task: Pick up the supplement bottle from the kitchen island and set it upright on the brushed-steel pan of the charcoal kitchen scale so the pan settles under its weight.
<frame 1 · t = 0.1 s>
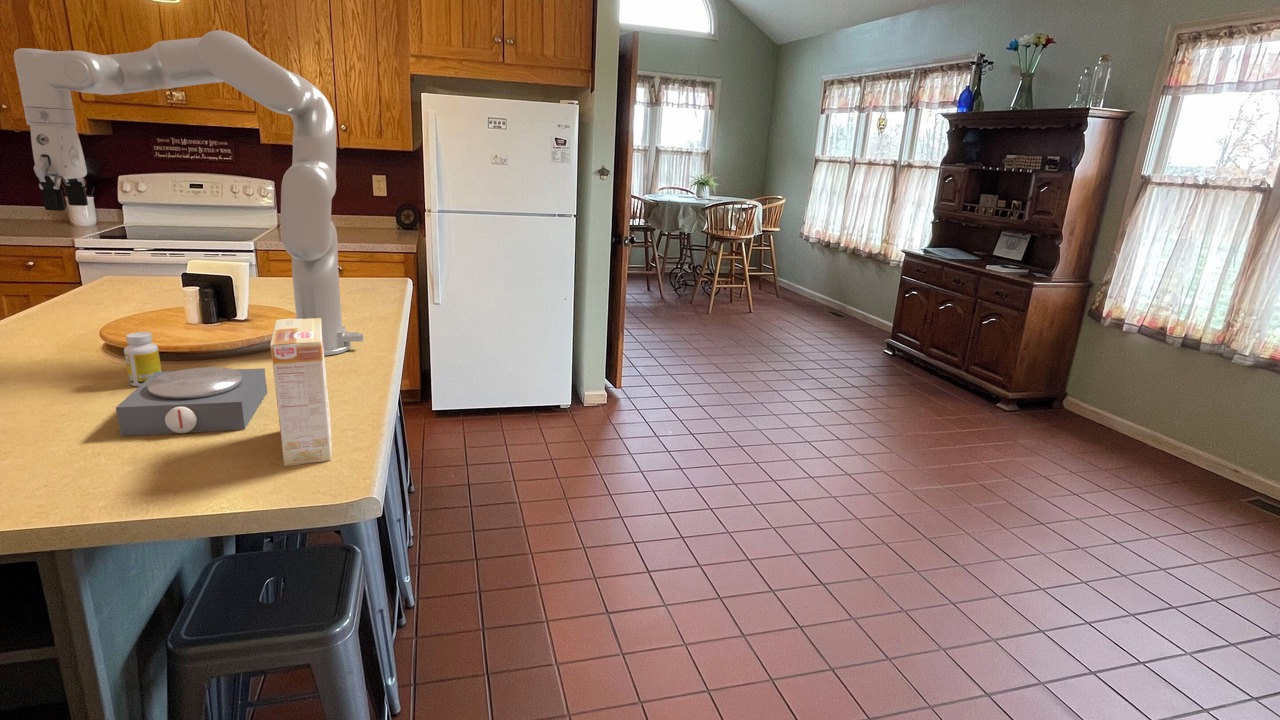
hand: (67, 207, 141), 31 cm above the kitchen island, fingers open, 9 cm apart
coffeecake box: (308, 445, 114), on the kitchen island
scale base: (200, 412, 124), on the kitchen island
scale pan: (196, 382, 122), point 6 cm above the kitchen island, slide at -0.8 cm
supplement bottle: (146, 383, 136), on the kitchen island
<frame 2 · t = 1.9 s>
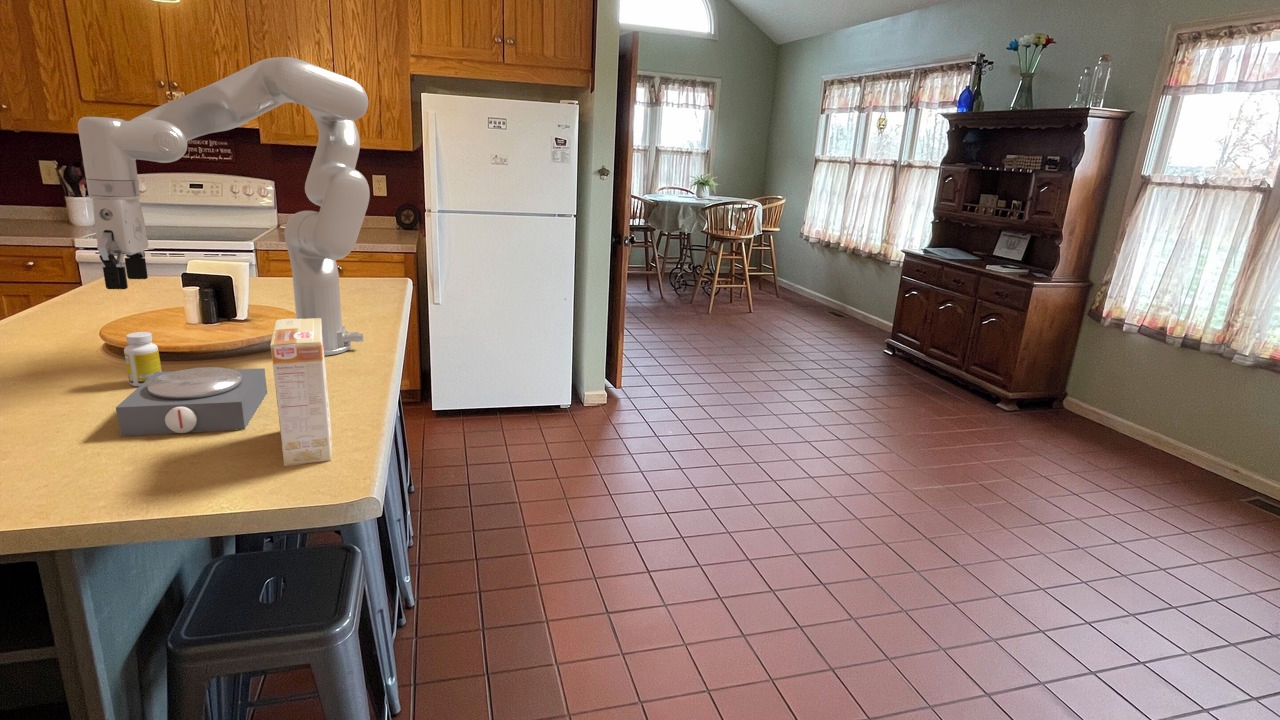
hand: (127, 283, 130), 20 cm above the kitchen island, fingers open, 9 cm apart
nothing on the kitchen island moved.
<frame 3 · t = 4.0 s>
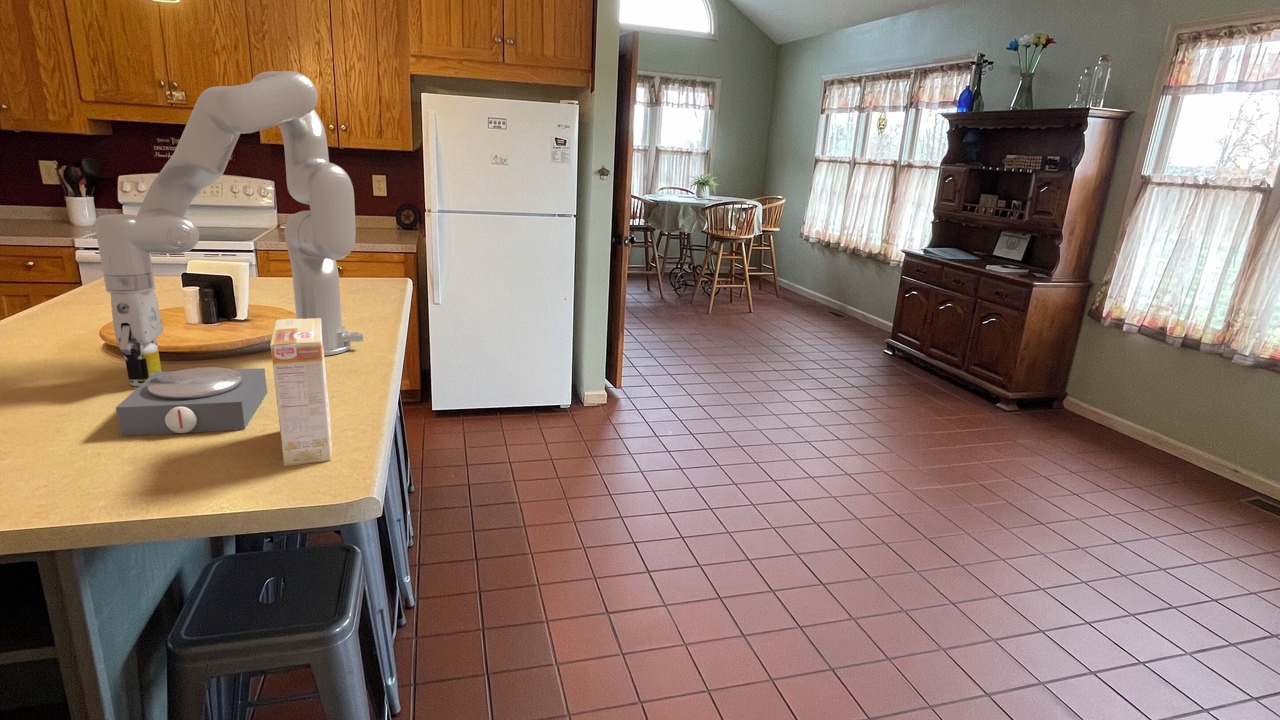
hand: (144, 372, 136), 2 cm above the kitchen island, fingers closed on supplement bottle, 5 cm apart
supplement bottle: (146, 383, 136), on the kitchen island, touching gripper
everything else where it was.
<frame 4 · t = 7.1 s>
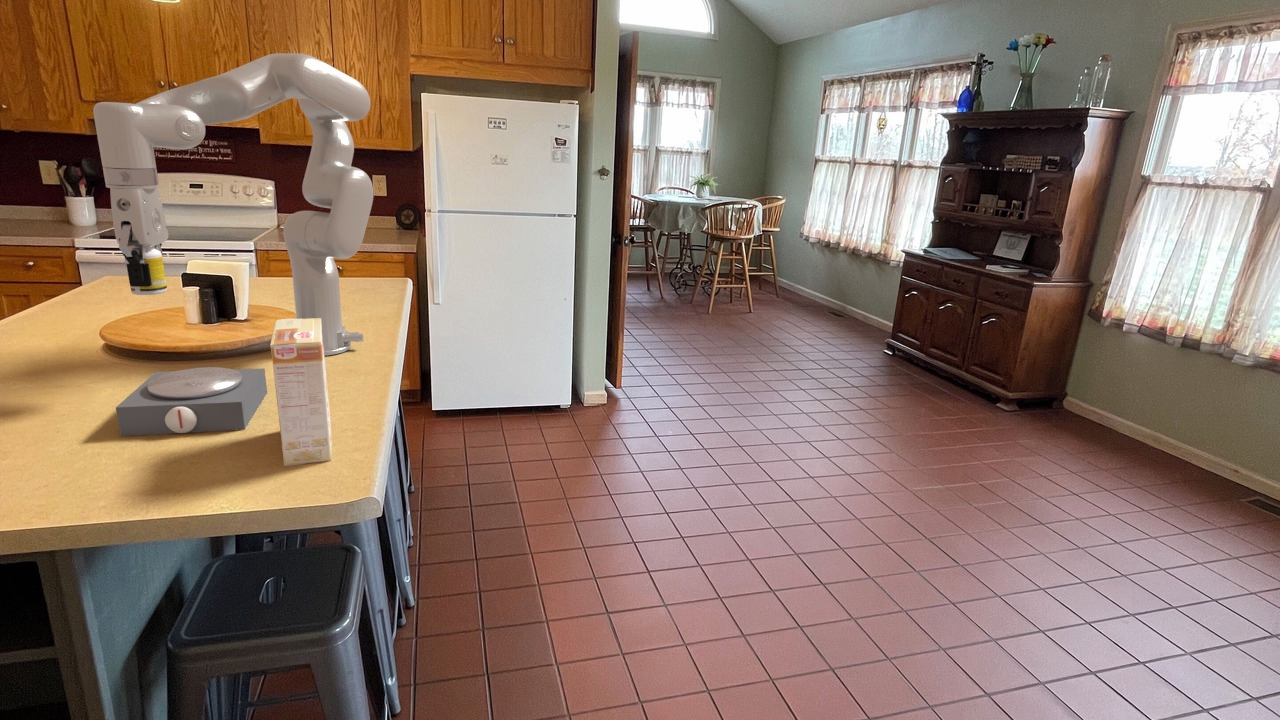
hand: (148, 281, 125), 21 cm above the kitchen island, fingers closed on supplement bottle, 5 cm apart
supplement bottle: (149, 293, 126), point 19 cm above the kitchen island, touching gripper
everything else where it was.
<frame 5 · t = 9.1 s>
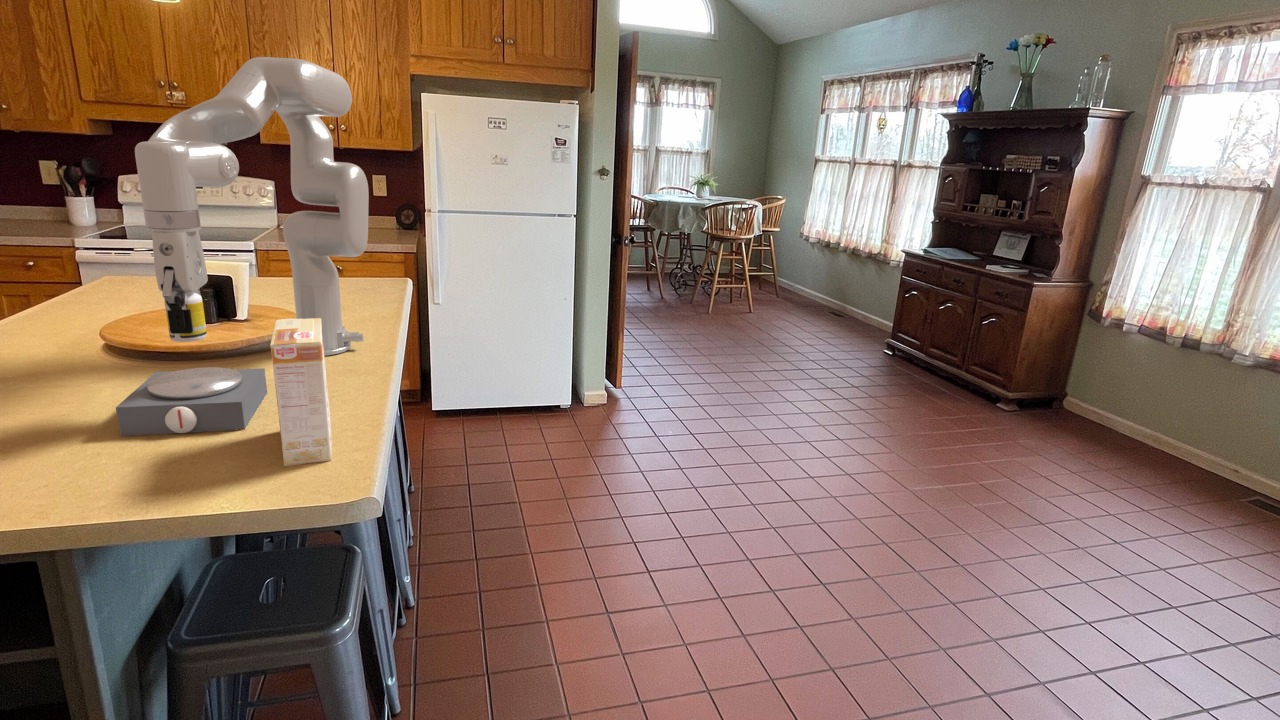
hand: (187, 327, 119), 16 cm above the kitchen island, fingers closed on supplement bottle, 5 cm apart
supplement bottle: (189, 339, 120), point 14 cm above the kitchen island, touching gripper
everything else where it was.
when the fingers open (10 cm above the kitchen island, at t = 10.5 s): supplement bottle drops 2 cm, resting on scale pan.
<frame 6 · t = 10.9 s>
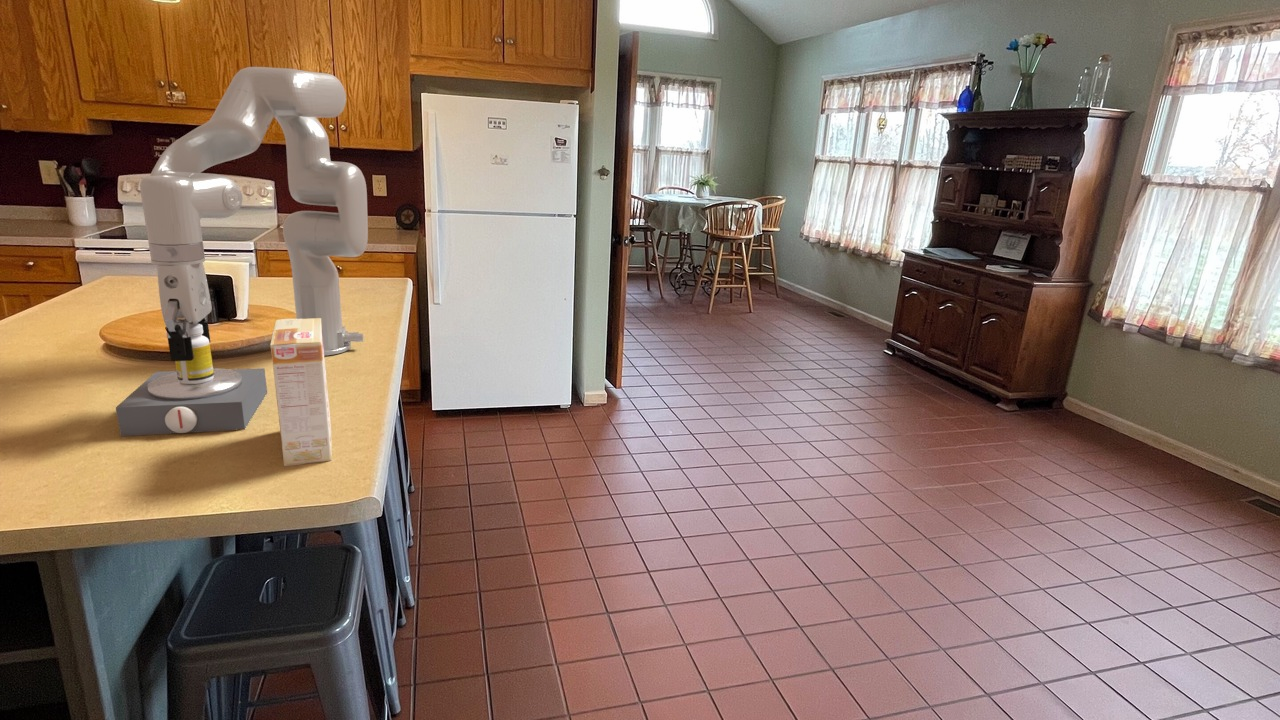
hand: (191, 351, 120), 11 cm above the kitchen island, fingers open, 9 cm apart
scale pan: (196, 383, 122), point 5 cm above the kitchen island, slide at -1.0 cm, touching supplement bottle, scale base
supplement bottle: (196, 381, 122), point 6 cm above the kitchen island, touching scale pan
everything else where it was.
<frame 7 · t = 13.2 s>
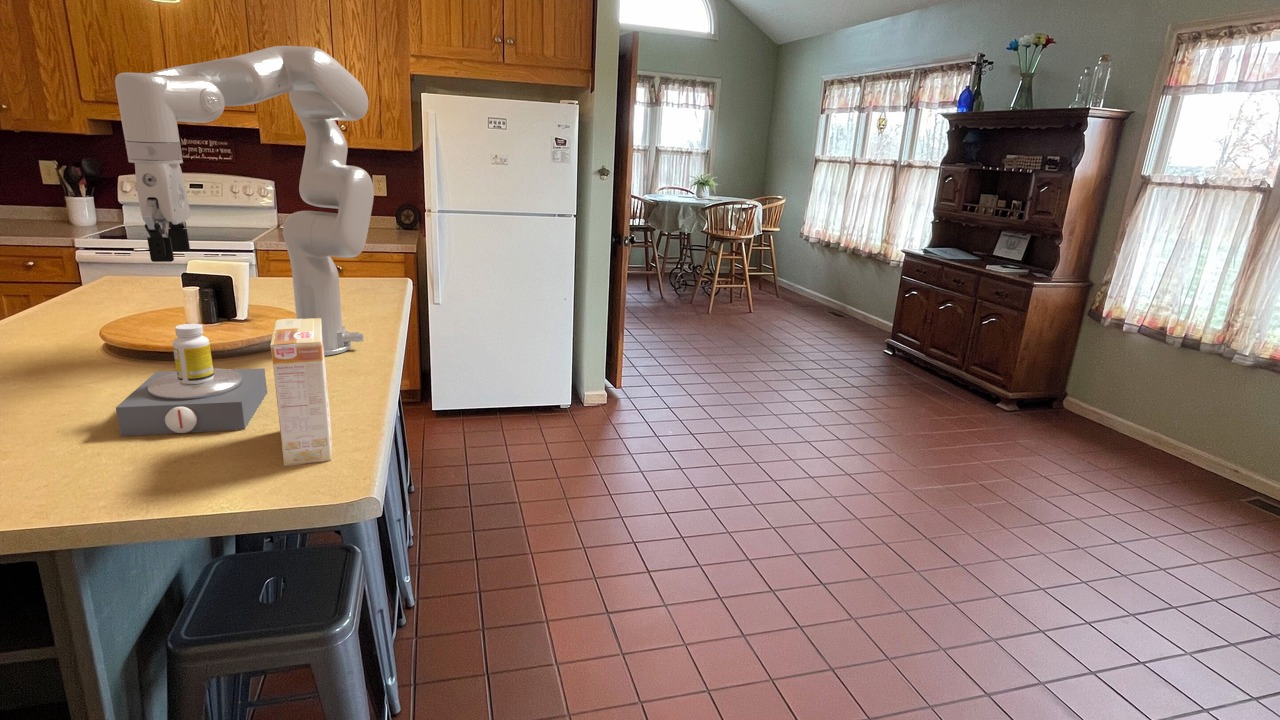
hand: (171, 256, 121), 27 cm above the kitchen island, fingers open, 9 cm apart
nothing on the kitchen island moved.
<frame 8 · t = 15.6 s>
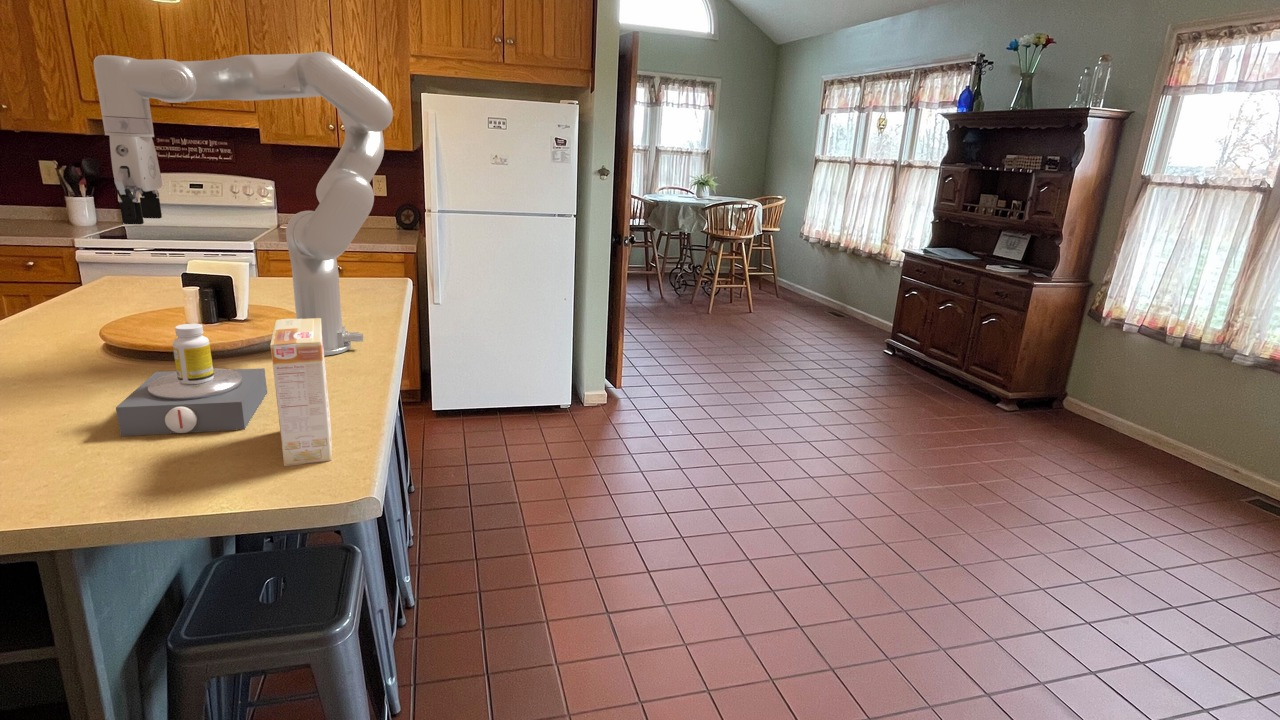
hand: (143, 221, 135), 30 cm above the kitchen island, fingers open, 9 cm apart
nothing on the kitchen island moved.
at the end: supplement bottle inside the target area on the scale base (0.4 cm from its centre), point 5.8 cm above the scale base's base; supplement bottle tilted 0°; supplement bottle touching scale pan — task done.
